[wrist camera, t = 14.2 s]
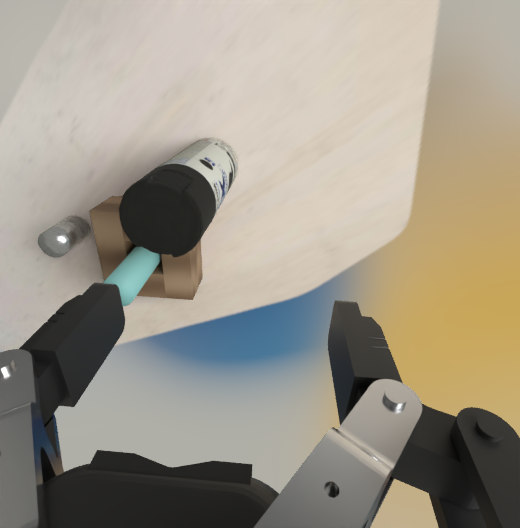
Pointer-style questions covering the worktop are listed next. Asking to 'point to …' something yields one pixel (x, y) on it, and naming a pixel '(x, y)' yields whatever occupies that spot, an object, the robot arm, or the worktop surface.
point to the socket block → (119, 247)
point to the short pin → (63, 236)
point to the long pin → (133, 273)
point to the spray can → (179, 198)
